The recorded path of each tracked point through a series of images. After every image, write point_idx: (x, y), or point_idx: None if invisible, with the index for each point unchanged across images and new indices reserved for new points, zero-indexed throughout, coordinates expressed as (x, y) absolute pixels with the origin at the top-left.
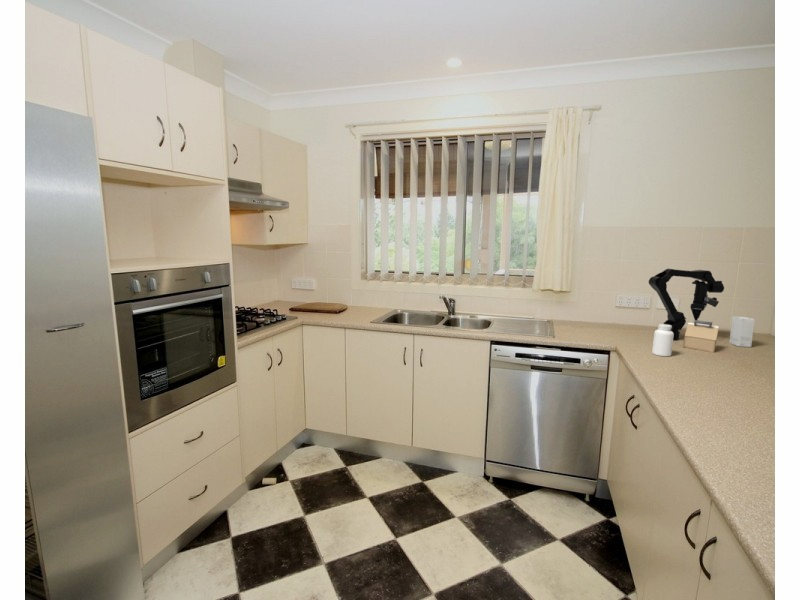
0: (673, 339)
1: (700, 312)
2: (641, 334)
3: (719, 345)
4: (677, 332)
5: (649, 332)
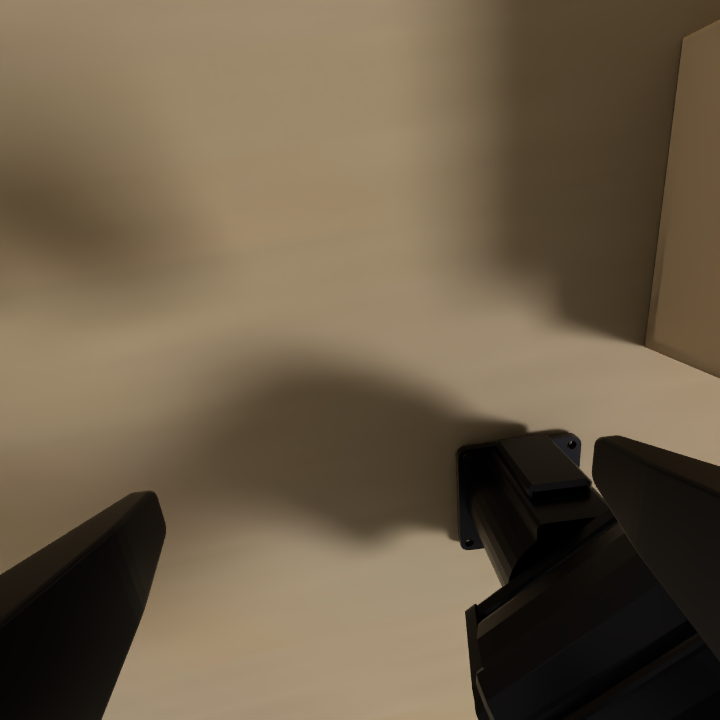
0: (577, 462)
1: (8, 637)
2: None
3: (459, 19)
4: (597, 493)
5: (380, 662)
